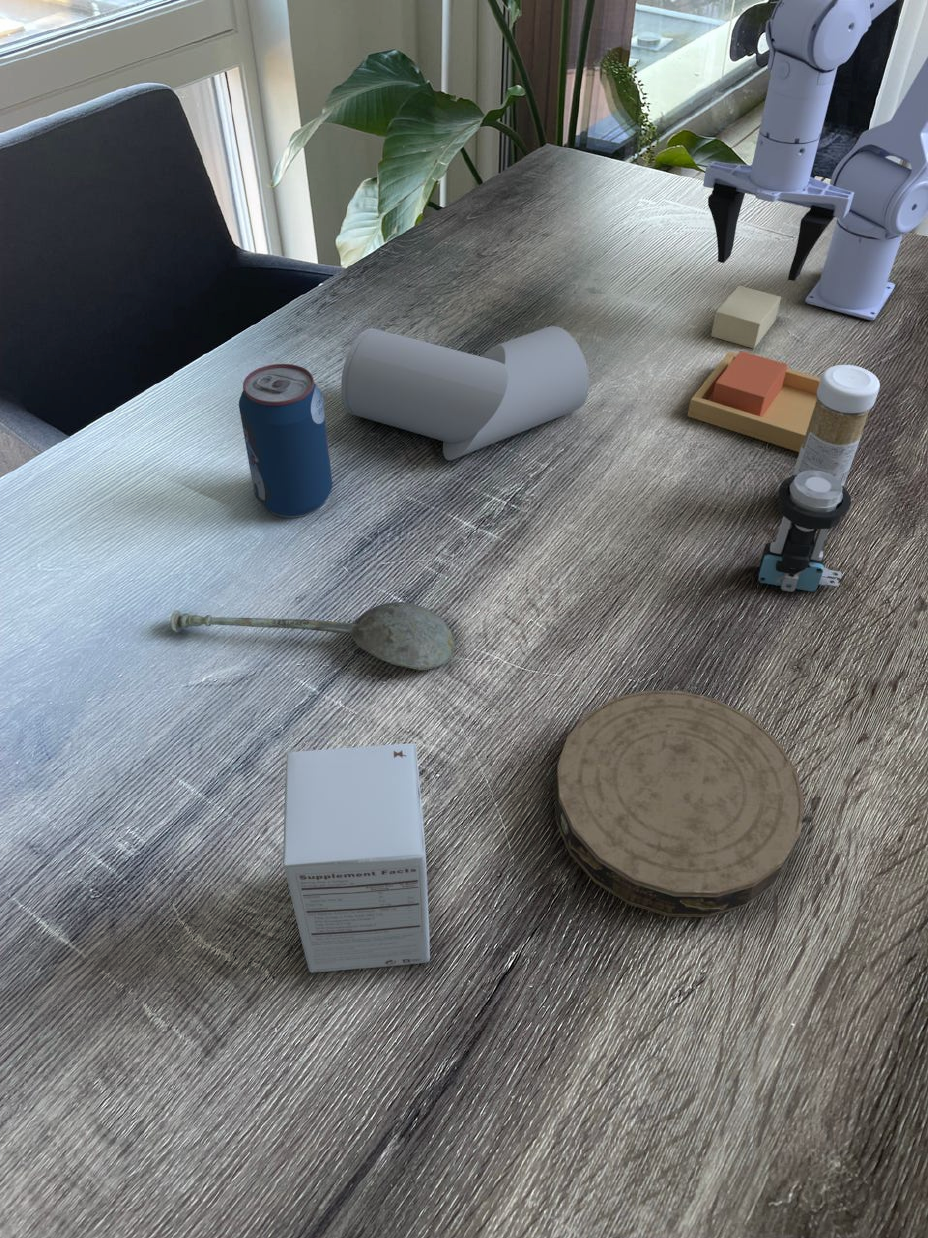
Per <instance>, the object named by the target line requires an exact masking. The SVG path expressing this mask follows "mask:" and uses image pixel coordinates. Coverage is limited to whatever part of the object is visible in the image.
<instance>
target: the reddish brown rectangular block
mask: <svg viewBox="0 0 928 1238" xmlns="http://www.w3.org/2000/svg"><path fill="white" fill-rule="evenodd" d="M788 366H789V365H788V364H787V363H784V362H781V361H778V360H775V359H771V358H766V357H764V356H760V355H757V354H753V353H750V352H747V351H743V350H740V351H739V352H738V355H737V356H736V357H735V358H734V360H733V361H732V362H731V364H730V365H729V366H728V367H727V369H726V370H725V371H724V373H723V374H722V375H721V376H720V378H719V379H718V380H717V381H716V383H715V387H714V392H713V397H712V402H715V403H718V404H722V405H725V406H728V407H731V408H734V409H738V410H741V411H744V412H747V413H750V414H753V415H757V416H760V417H763V415H764V414H765V412H766V411H767V409H768V408H769V406H770V405H771V404H772V402H773V401H774V399H775V398H776V396H777V395H778V393H779V392H780V391H781V388H782V385H783V381H784V377H785V374H786V370H787V368H788Z"/></svg>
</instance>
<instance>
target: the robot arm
mask: <svg viewBox="0 0 928 1238" xmlns="http://www.w3.org/2000/svg"><path fill="white" fill-rule="evenodd" d="M896 1H897V0H778V2H777V3H776V4H775V7H774V9H773V11H772V14H771V17H770V18H769V19H767V21H765V32H764V33H765V34H764V35H765V41H766V44H767V47H768V50H769V57H768V62H767V69H768V73H769V75H770V77H769V82H768V87H767V91H766V96H765V101H764V106H763V109H762V114H761V120H760V125H759V130H758V135H757V140H756V144H755V149H754V153H753V158H752V164H750V165H749V164H739V163H727V162H721V161H716V160H712V161H711V162H710V163H709V165H708V166H706V167H705V171H704V172H705V173H704V178H703V184H702V186H703V187H706V188H709V189H712V190H711V194H710V195H708V196H707V197H708V198H707V206H708V208H709V211H710V214H711V217H712V220H713V224H714V228H715V233H716V243H717V262H718V263H721V264H725V262H727V260H728V259H729V258H730V257H731V254H732V251H733V247H734V244H735V243H734V242H735V236H736V231H737V225H738V220H739V217H740V212H741V209H742V205H743V202H744V198H745V195H746V194H747V195H752V196H754V197H755V198H756V199H757V200H761V201H766V202H771V203H774V202H776V201H777V202H781V203H786V204H791V205H795V206H799V207H803V208H808V209H809V210H808V211H806V213H805V214H804V215H803V216H802V218H801V220H800V222H799V223H800V224H799V231H798V237H797V243H796V248H795V252H794V256H793V259H792V263H791V265H790V268H789V271H788V277H787V281H791V282H795V281H796V280H797V279H798V277H800V276H801V273H802V270H803V267H804V265H805V263H806V261H807V258H808V257H809V255H810V253H811V252H812V249H813V248H814V247H815V244H816V243H817V241H818V240H819V239H820V237H821V236H822V234H823V233H824V232H825V230H826V229H827V228H828V226H829V225H830V224H831V222H833V220H834V218H836V221H835V225H834V228H833V232H832V236H831V240H830V243H829V247H828V249H827V253H826V258H825V261H824V265H823V268H822V271H821V275H820V279H818V281H817V283H816V284H815V286H814V287H813V288H812V289H811V291H810V292H809V294H807V296H806V297H805V303H806V304H808V305H811V306H816V307H819V308H823V309H826V310H830V311H834V312H837V313H841V314H845V315H849V316H853V317H856V318H860V319H864V320H868V321H874V320H875V319H876V318H877V317H878V315H879V313H880V311H881V310H882V308H883V307H884V305H885V304H886V302H887V300H888V299H889V297H890V296H891V294H892V293H893V291H894V290H895V287H896V284H895V283H894V282H890V281H889V278H890V276H891V272H892V269H893V266H894V263H895V260H896V257H897V255H898V252H899V248H900V245H901V241H902V238H903V236H904V235H906V234H909V233H910V232H911V231H912V230H914V229H915V228H916V227H917V226H919V225H920V224H921V223H922V222H923V220H924V219H925V218H926V216H927V215H928V56H927V57H926V59H925V61H924V62H923V64H922V66H921V68H920V69H919V71H918V72H917V74H916V76H915V78H914V79H913V81H912V83H911V85H910V86H909V88H908V90H907V92H906V93H905V95H904V96H903V98H902V100H901V102H900V103H899V105H898V107H897V109H896V111H895V113H894V114H893V115H892V117H891V119H890V120H889V121H886V122H884V123H881V124H879V125H876V126H874V127H872V128H870V129H867V130H864V131H862V133H861V134H860V136H859V138H858V140H857V141H856V143H855V145H854V146H853V148H852V149H851V150H850V151H848V153H847V154H846V155H845V156H844V157H842V159H840V161H839V163H838V164H837V165H836V166H835V169H834V170H833V173H832V174H831V178H830V181H829V183H828V182H824V181H822V180H819V179H817V178H814V177H812V176H811V174H812V171H813V166H814V163H815V158H816V154H817V152H818V151H817V150H818V146H819V142H820V138H821V134H822V131H823V126H824V123H825V119H826V114H827V111H828V106H829V102H830V100H831V99H830V98H831V94H832V91H833V87H834V84H835V83H834V82H835V78H836V75H837V70H838V67H839V66H840V65H842V64H845V63H846V62H847V61H848V60H849V59H850V58H851V56H852V55H853V54H854V52H855V50H856V49H857V47H858V45H859V43H860V41H861V39H862V38H863V36H864V35H865V34H866V33H867V32H868V31H869V28H870V27H871V25H872V21H874V20H875V19H876V18H877V17H878V16H879V15H881V14H882V13H883V12H885V10H886V9H888V8H889V7H890V6H892V5H893V4H894V3H895V2H896ZM887 157H895V158H897V159H899V160H901V161H904V162H905V163H909V164H910V168H909V167H907V166H905V165H902V164H900V163H899V162H896V161H894V160H892V159H889V158H887Z"/></svg>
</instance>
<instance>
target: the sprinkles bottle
mask: <svg viewBox="0 0 928 1238" xmlns="http://www.w3.org/2000/svg"><path fill="white" fill-rule="evenodd" d="M820 378H821V379H820V382H819V386H818V389H817V398H816V399H817V401H816V403H815V407H814V410H813V413H812V416H811V419H810V422H809V426H808V428H807V432H806V435H805V438H804V442H803V444H802V446H801V449H800V452H798V455H797V459H796V463H795V466H794V469H793V475H797V474H799V473H801V472H805V471H808V470H811V471H821V472H825V473H828V474H831V475H832V476H834V477H835V478H837V479H838V480H839V481H840V483H841V484H842V486H843V487H845V484H846V481H847V478H848V476H849V472H850V470H851V467H852V464H853V461H854V459H855V455H856V452H857V449H858V447H859V444H860V441H861V438H862V434H863V431H864V428H865V424H866V421H867V419H868V416H869V413H870V411H871V410H872V409H873V407H874V405H875V403H876V400H877V397H878V394H879V391H880V387H881V384H880V380H879V378H878V377H877V376H876V375H875V374H874V373H873V372H871V371H869V370H868V369H866V368H864V367H861V366H857V365H852V364H838V365H833V366H832V365H831V366H830V367H828V368H827V369H825V370H824V371H823V372H822V374H821V377H820Z"/></svg>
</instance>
